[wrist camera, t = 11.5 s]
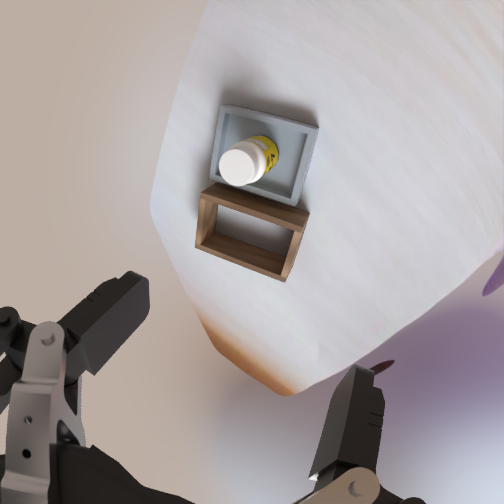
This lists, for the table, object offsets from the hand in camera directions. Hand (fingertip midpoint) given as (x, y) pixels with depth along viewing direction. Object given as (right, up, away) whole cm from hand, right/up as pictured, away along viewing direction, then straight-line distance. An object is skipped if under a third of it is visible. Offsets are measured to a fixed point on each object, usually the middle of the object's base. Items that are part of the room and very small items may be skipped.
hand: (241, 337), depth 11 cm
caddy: (+1, +7, +33) cm, 34 cm away
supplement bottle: (+2, +16, +27) cm, 31 cm away
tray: (+2, +16, +27) cm, 31 cm away
